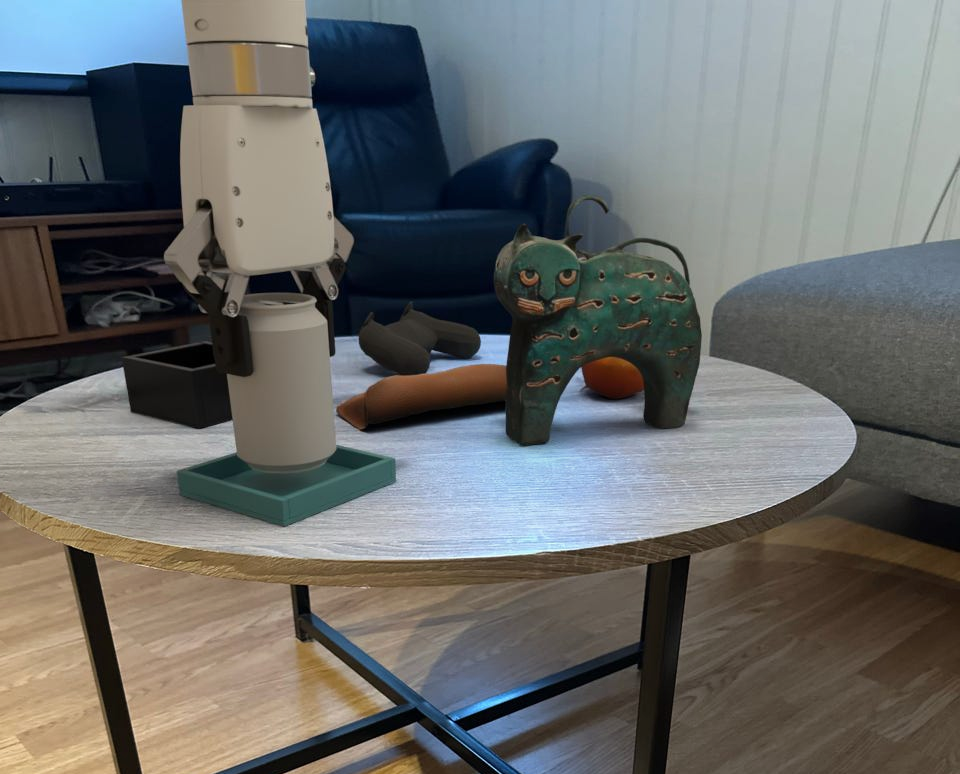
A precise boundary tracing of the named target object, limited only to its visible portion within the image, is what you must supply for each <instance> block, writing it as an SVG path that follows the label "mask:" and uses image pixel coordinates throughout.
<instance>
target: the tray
mask: <svg viewBox="0 0 960 774" xmlns="http://www.w3.org/2000/svg"><path fill="white" fill-rule="evenodd" d="M396 465H397V464H396V458H395V457H392V456H387V455H382V454H378V453H374V452H370V451H366V450H361V449H357V448H353V447H348V446H344V445H340V444H336V450H335V452H334V453H333V454H332V455H331V456H330V457H329V458H328V459H327V461H326V463H325V464H324V465H322V466H320V467H318V468H315V469H312V470H309V471H304V472H298V473H287V474H277V473H266V472H260V471H257V470H254V469H252V468H251V467H250V466H249V465H248V464H247V463H246V462H245V461H243V460H242V459H240V458H239V457H238V456H237V451H235V452H233V453H230V454H226V455H223V456H220V457H217V458H213V459H210V460H207V461H205V462H201V463H198V464H194V465H191V466H188V467H185V468H181V469H179V470H176V477H177V484H178V489H179V492H178V493H179V495H180V496H183V497H187V498H189V499H192V500H196V501H198V502H199V501H200V502H202V503H206V504H210V505H212V506H216V507H219V508H222V509H226V510H229V511H232V512H236V513H239V514H242V515H245V516H249V517H252V518H254V519H255V518H256V519H258V520H262V521H265V522H268V523H271V524H275V525H277V526H281V527H287V526H289V525H292V524H294V523H297V522H299V521H301V520H304V519H307V518H308V517H311V516H314V515H316V514H319V513H322V512H324V511H326V510H329V509H332V508H334V507H336V506H339V505H341V504H345V503H346V502H348V501H351V500H353V499H356V498H358V497H361V496H363V495H366V494H368V493H371V492H373V491H376V490H378V489H381V488H383V487H386V486H388V485H390V484H391V485H392V484H393V483H396V482H397V470H396Z"/></svg>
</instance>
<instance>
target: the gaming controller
mask: <svg viewBox="0 0 960 774" xmlns="http://www.w3.org/2000/svg"><path fill="white" fill-rule="evenodd" d="M374 319H375V313H374V312H373V311H370V313H369V314H368V315H367V317H366V319H364V322H363V324H362V326H361V327H360V329H359V331H358V345H359V348H360V350H361V351H362V352H363V353H364V355H365V356H367V357H368V358H369V357H370V359H372V361H373V362H375V363H376V364H378V365H379V366H381V367H383V368H385V369H386V370H388V371H391V372H394V373H395V374H397V375H400V376H409V375H419V374H426V373H428V372H429V368H430V364H431V357H430V355H431V353H432V351H433V352H435V353H436V352H437V353H440V354H446V355H449V356H453V357H457V358H464V359H470V358H472V357H474V356H475V355H476V354H477V353H478V352H479V351H480V349H481V345H482V340H481V336H480V334H479V332H478V331H477V330H476V329H475V328H474V327H472V326H468V325H465V324H462V323H457V322H453V321H448V320H442V319H439V318H434V317H432V316H430V315H427V314H426V313H424V312H421V311H417V310H414V302H413V301H409V302H408V303H407V305H406V307H405V308H404V310H403V312H402V314H401V316H400V318H399V320H398V321H396V322H393V323H389V324H387V325H385V326H384V325H383V324H381V323H378V322H377V321H375V320H374Z"/></svg>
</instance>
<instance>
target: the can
mask: <svg viewBox="0 0 960 774" xmlns="http://www.w3.org/2000/svg"><path fill="white" fill-rule="evenodd" d="M316 302H317V300H316V298H315V297H314V296H310V295H306V294H302V293H298V292H297V293H296V292H261V293H249V294H244V297H243V301H242V304H241V307H240V311H239V313H238V315H243V316H247V319H248V324H249V333H250V343H251V352H252V362H253V373H252V375H251V376H247V377H240V376H235V375H230V374H227V379H228V387H229V395H230V403H231V411H232V419H233V420H232V426H233V434H234V441H235V450H236V452H237V456H238V457H239V458H240V459H242V460H243V461H245V462H246V463H247V464H248V465H249V466H250V467H251V468H252V469H254V470H257V471H260V472H266V473H277V474H287V473H298V472H304V471H309V470H312V469H315V468H318V467H320V466H322V465H324V464H325V463H326V461H327V459H328V458H329V457H330V456H331V455H332V454H333V453H334V452H335V450H336V445H337V439H336V438H337V435H336V423H335V410H334V396H333V395H334V394H333V383H332V382H333V381H332V370H331V369H332V368H331V367H332V366H331V357H330V354H329V340H328V326H327V320H326V318H325V317H324V316H323V315H322V314H321V313H320V312H319V311H318V310H317V309H316V308H315V303H316Z"/></svg>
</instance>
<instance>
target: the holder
mask: <svg viewBox="0 0 960 774" xmlns="http://www.w3.org/2000/svg"><path fill="white" fill-rule="evenodd" d="M121 363H122V369H123V375H124V381H125V386H126V387H125V388H126V391H127V392H126V393H127V397H128V398H127V399H128V403H129V409H130V410H129V411H130V413H133V414H136V415H142V416H146V417H150V418H154V419H157V420H161V421H166V422H169V423H174V424H178V425H182V426H185V427H186V426H187V427H190V428H195V429H198V430H200V429H204V428H207V427H212V426H214V425H219V424H222V423H226V422H229V421H233V419H232V411H231V403H230V395H229V387H228V379H227V374H225V373H220V372H218V371H217V369H216V366H215V358H214V354H213V346H212V341H207V340H205V341H200V342H195V343H189V344H184V345H179V346H174V347H169V348H162V349H158V350H152V351H147V352H142V353H136V354H132V355H126V356H122V357H121Z"/></svg>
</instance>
